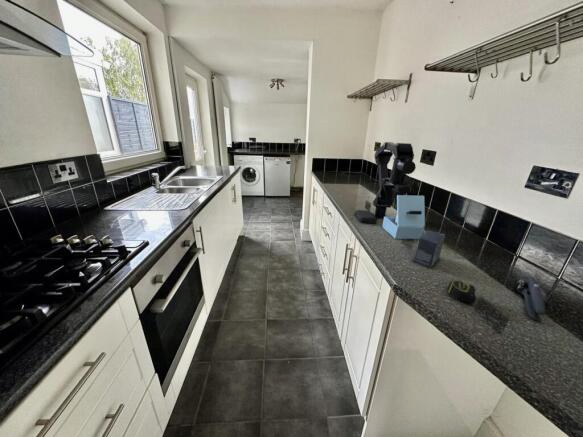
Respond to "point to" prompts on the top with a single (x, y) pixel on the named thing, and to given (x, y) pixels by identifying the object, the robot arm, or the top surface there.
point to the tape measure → (462, 291)
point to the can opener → (532, 297)
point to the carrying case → (365, 216)
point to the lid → (410, 211)
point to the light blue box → (401, 229)
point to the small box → (429, 248)
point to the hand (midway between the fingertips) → (391, 201)
